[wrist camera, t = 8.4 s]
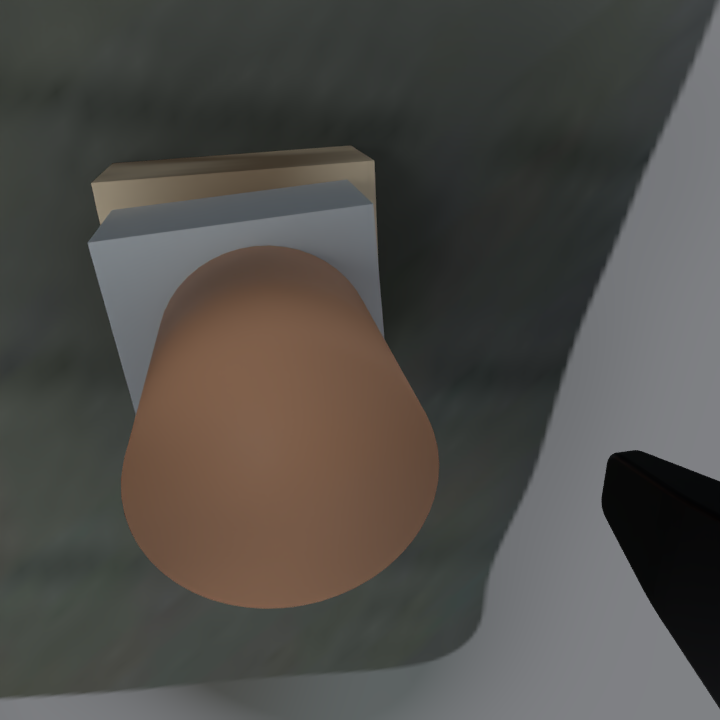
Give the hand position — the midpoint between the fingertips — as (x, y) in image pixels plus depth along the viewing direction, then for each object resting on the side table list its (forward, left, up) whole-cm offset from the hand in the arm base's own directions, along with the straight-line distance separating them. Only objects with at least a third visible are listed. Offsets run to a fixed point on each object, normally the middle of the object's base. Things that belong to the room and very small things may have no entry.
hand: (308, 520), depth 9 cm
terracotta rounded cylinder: (0, 0, -6) cm, 6 cm away
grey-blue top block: (0, 0, -9) cm, 9 cm away
